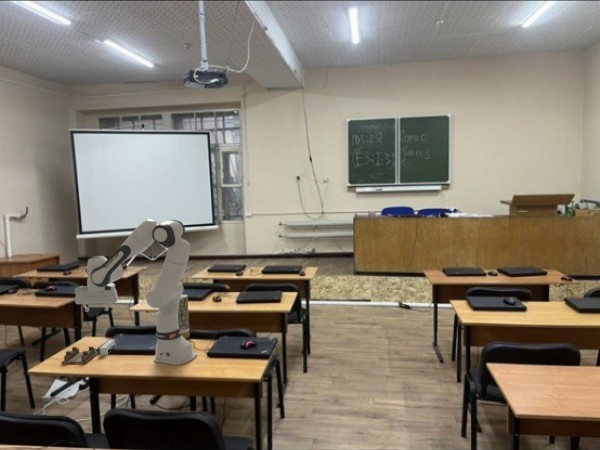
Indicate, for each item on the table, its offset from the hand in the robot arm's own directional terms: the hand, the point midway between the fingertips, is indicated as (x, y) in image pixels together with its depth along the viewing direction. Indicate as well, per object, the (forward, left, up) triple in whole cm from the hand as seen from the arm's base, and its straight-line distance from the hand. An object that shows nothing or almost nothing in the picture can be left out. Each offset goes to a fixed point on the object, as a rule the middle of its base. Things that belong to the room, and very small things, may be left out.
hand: (96, 311), depth 218 cm
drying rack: (+3, +9, -23) cm, 25 cm away
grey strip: (-1, -4, -24) cm, 24 cm away
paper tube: (-23, -38, -24) cm, 50 cm away
